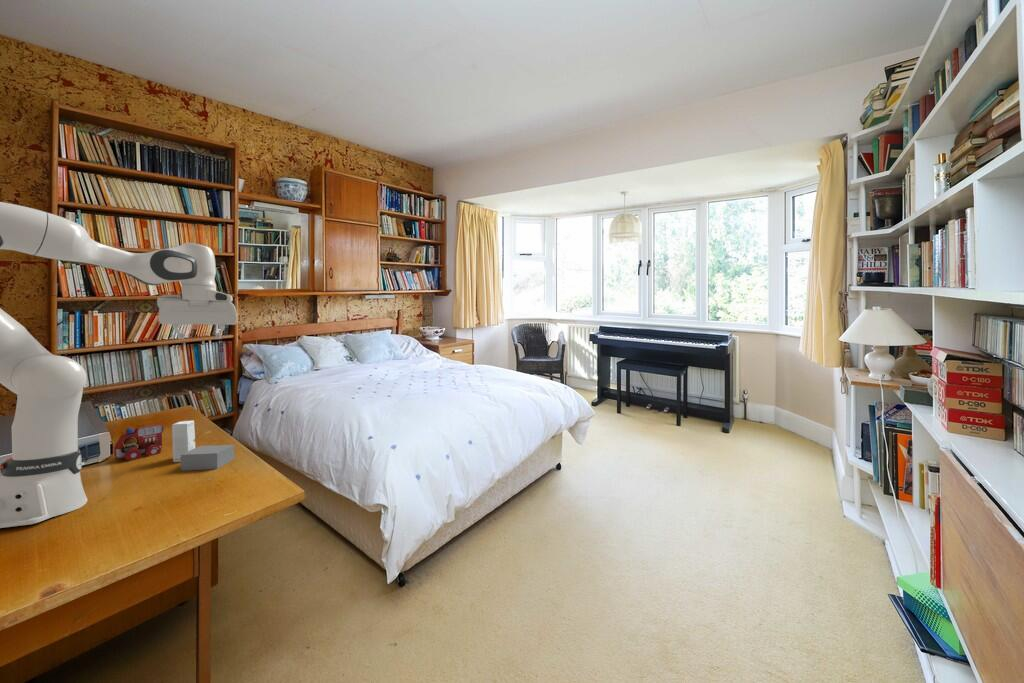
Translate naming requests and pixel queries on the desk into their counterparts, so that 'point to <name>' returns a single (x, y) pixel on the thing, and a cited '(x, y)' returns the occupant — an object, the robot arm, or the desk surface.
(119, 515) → the desk surface
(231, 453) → the gray riser
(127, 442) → the toy fire truck
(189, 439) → the skincare box
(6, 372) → the robot arm
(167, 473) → the desk surface
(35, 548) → the desk surface
